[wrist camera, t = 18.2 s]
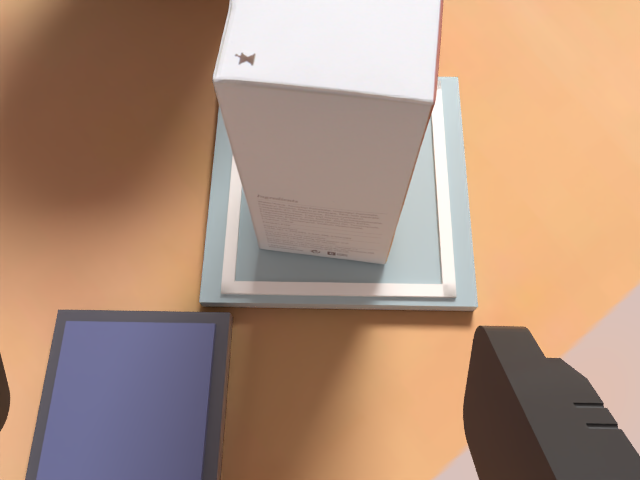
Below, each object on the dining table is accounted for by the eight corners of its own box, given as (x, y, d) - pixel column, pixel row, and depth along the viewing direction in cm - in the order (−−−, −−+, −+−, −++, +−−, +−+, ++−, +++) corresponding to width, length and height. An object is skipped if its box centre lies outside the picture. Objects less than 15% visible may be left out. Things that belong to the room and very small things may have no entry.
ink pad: (32, 497, 24) (17, 498, 23) (66, 314, 27) (55, 307, 26) (218, 501, 24) (213, 503, 23) (232, 317, 27) (229, 310, 26)
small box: (387, 267, 27) (438, 107, 15) (256, 251, 28) (203, 82, 15) (401, 124, 30) (453, -106, 18) (283, 111, 30) (256, -123, 18)
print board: (202, 306, 27) (198, 301, 26) (224, 83, 32) (221, 72, 31) (473, 311, 27) (479, 305, 26) (454, 86, 32) (458, 74, 31)
